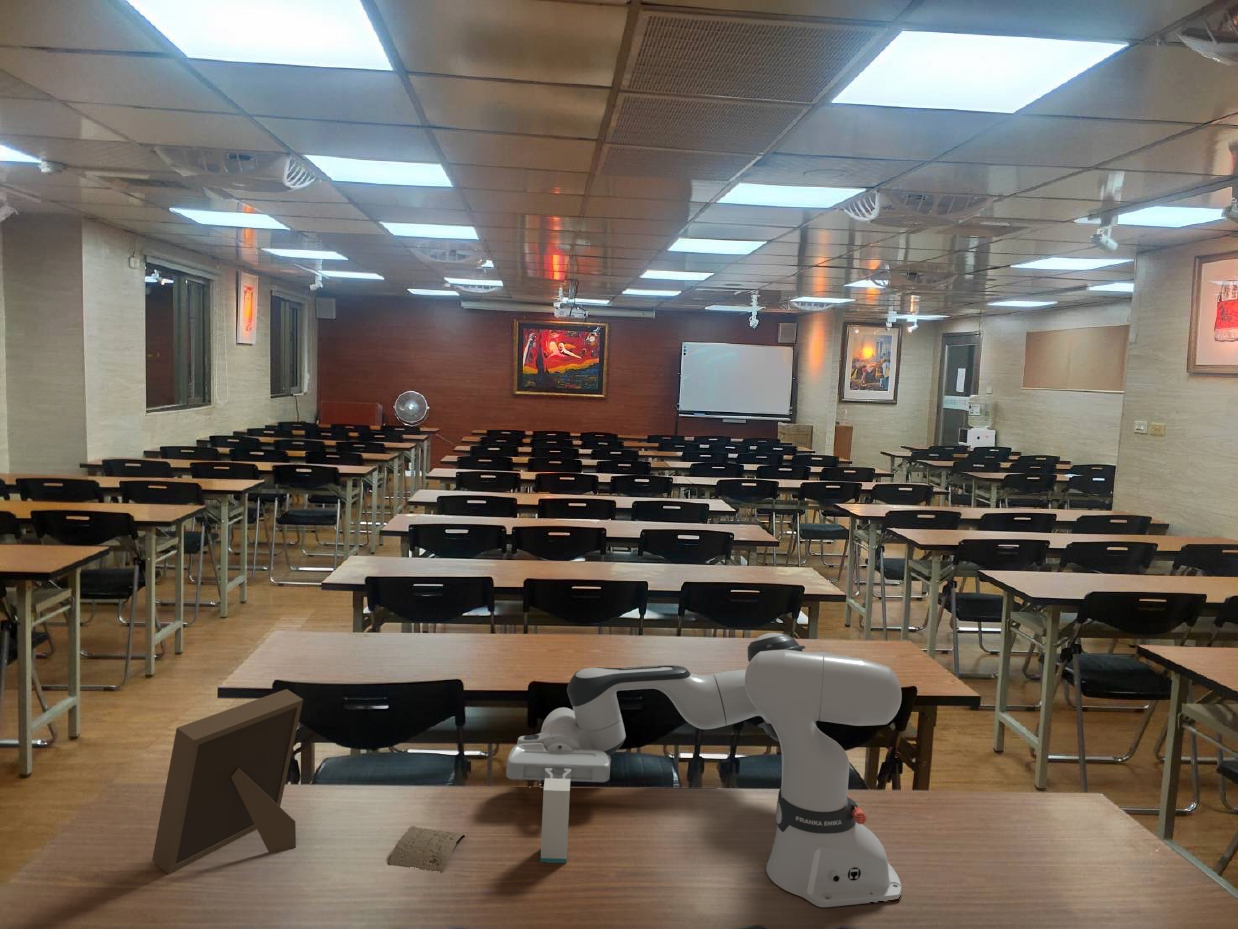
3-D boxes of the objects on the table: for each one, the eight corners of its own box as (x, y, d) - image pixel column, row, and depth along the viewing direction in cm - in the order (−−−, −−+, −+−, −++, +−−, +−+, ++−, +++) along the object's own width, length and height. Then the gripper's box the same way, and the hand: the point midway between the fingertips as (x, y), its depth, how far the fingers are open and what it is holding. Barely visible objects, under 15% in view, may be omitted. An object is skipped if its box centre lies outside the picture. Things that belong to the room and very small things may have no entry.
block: (567, 849, 153) (570, 779, 152) (566, 863, 149) (569, 791, 148) (541, 848, 153) (544, 778, 152) (540, 862, 149) (543, 790, 148)
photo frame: (152, 866, 142) (154, 719, 139) (261, 812, 161) (265, 682, 159) (212, 895, 135) (215, 742, 133) (319, 835, 154) (323, 700, 152)
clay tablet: (417, 827, 159) (417, 813, 159) (469, 834, 158) (470, 820, 158) (384, 871, 145) (385, 856, 144) (442, 879, 143) (443, 863, 143)
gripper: (609, 769, 177) (611, 801, 163) (509, 766, 176) (503, 798, 162) (611, 739, 176) (613, 769, 162) (510, 736, 175) (504, 766, 162)
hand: (557, 784), depth 162 cm, fingers closed
